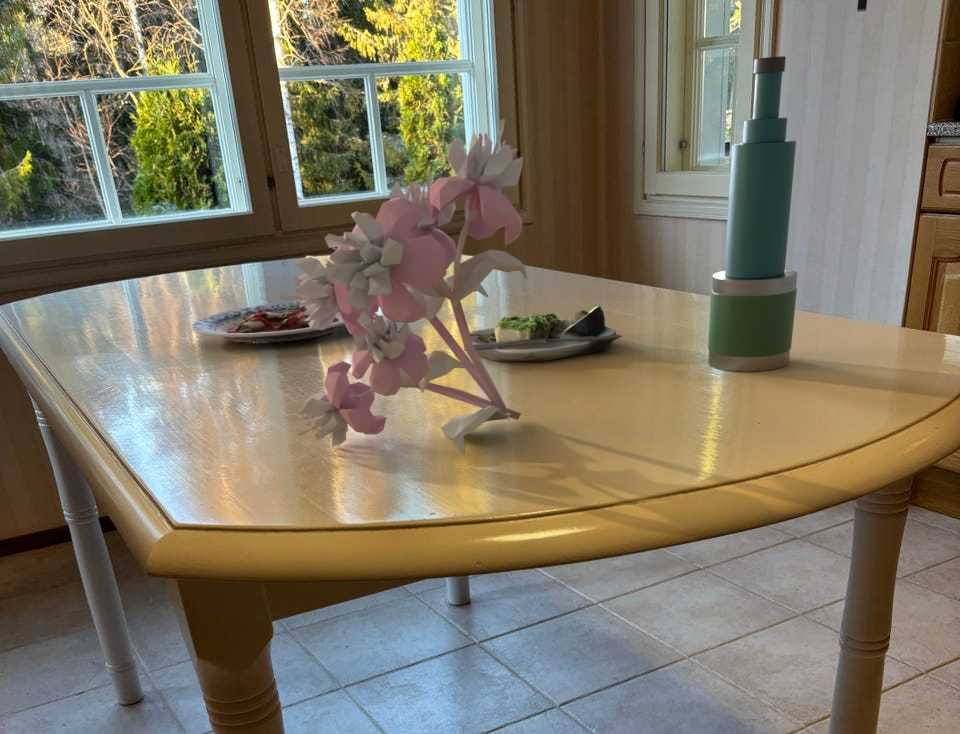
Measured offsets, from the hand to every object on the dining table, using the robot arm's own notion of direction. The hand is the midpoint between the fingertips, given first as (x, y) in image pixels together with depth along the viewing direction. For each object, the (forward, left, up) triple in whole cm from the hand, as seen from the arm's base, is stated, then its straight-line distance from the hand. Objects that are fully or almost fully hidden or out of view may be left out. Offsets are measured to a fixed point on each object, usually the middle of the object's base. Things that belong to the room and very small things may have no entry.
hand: (937, 2), depth 89 cm
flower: (+40, +44, -32) cm, 67 cm away
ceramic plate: (+81, -3, -32) cm, 87 cm away
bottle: (+14, +11, -23) cm, 29 cm away
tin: (+14, +11, -32) cm, 36 cm away
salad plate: (+39, +5, -32) cm, 51 cm away
